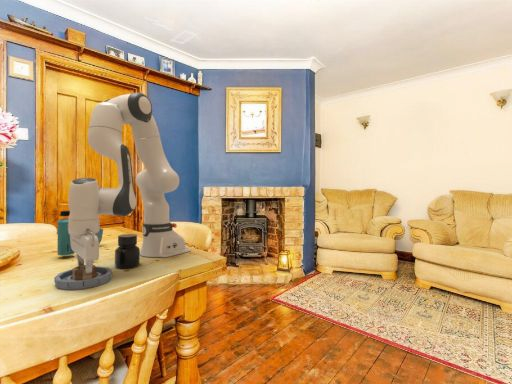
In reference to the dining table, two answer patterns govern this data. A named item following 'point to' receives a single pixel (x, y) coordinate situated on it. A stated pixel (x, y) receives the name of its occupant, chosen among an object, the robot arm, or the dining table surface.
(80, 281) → the groove tray
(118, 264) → the ink bottle
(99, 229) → the flower pot
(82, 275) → the bead loop
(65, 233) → the beverage bottle
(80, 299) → the dining table surface
